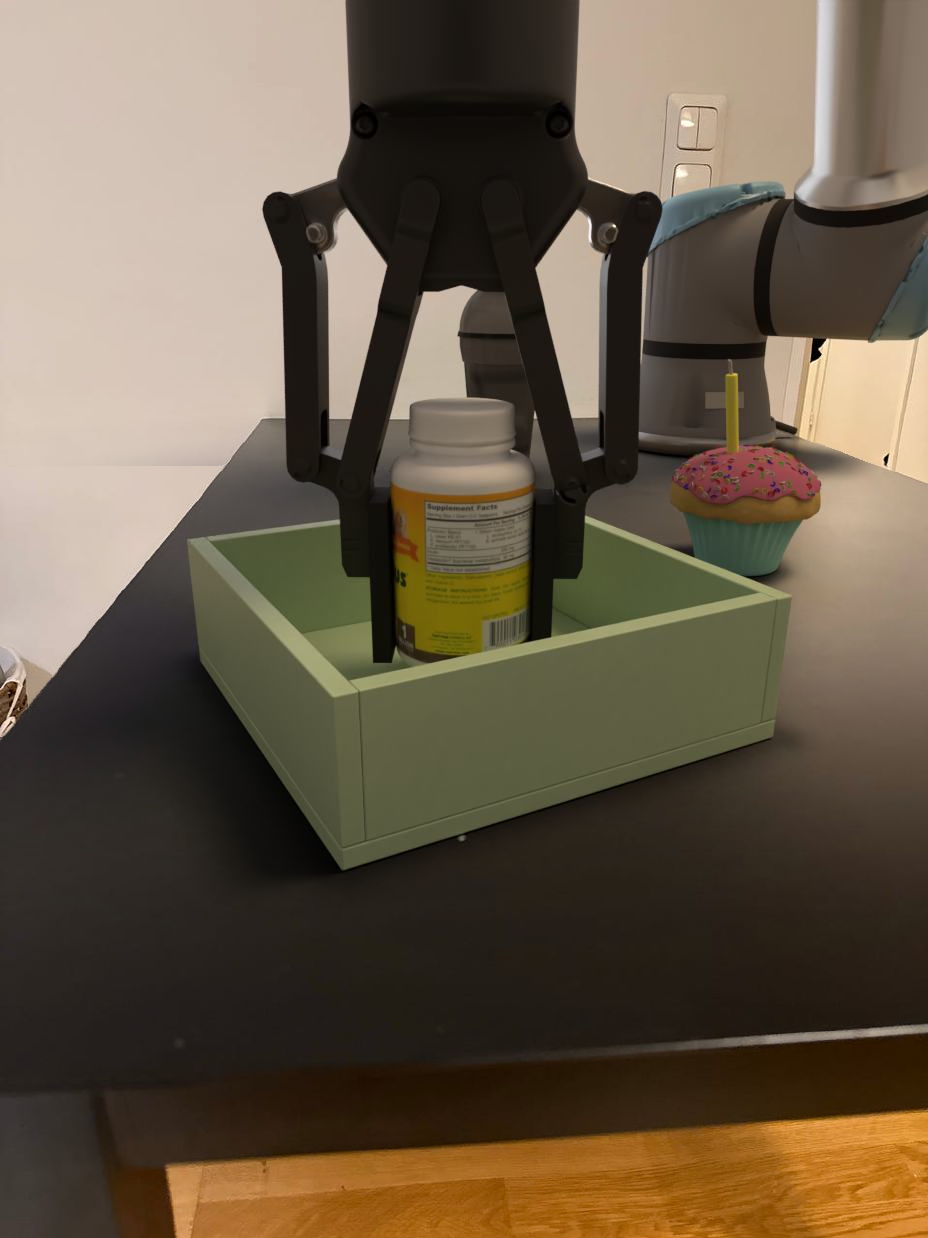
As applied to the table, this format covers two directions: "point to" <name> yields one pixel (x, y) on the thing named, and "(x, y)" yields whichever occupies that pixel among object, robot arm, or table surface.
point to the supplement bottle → (461, 532)
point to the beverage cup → (496, 361)
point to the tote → (480, 685)
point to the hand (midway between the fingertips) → (462, 649)
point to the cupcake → (743, 499)
